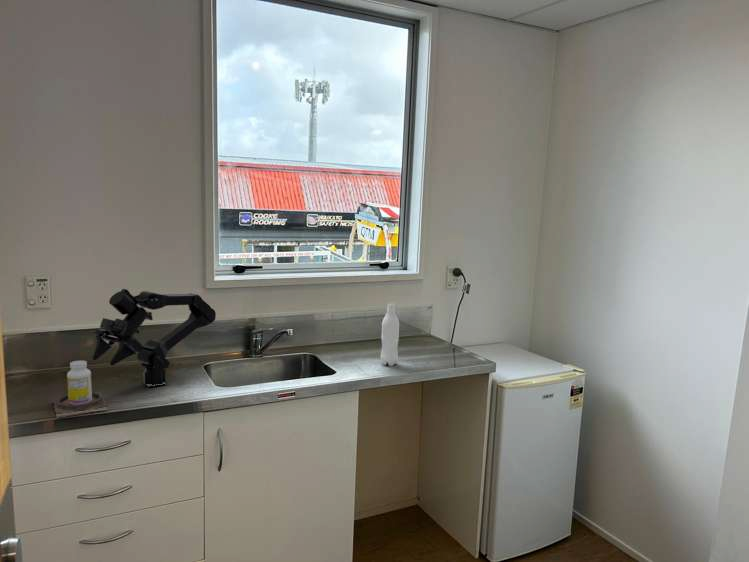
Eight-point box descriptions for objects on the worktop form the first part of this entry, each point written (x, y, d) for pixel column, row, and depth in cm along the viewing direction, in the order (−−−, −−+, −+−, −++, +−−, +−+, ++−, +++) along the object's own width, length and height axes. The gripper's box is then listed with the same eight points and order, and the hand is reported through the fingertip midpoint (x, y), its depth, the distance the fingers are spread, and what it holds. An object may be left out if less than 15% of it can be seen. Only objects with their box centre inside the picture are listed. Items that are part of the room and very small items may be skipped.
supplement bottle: (77, 397, 186) (75, 358, 184) (96, 399, 185) (95, 360, 183) (63, 405, 179) (61, 364, 177) (83, 406, 178) (81, 366, 176)
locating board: (101, 396, 192) (101, 388, 191) (107, 410, 180) (107, 402, 179) (52, 403, 184) (52, 395, 184) (56, 418, 172) (55, 409, 172)
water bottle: (391, 367, 233) (393, 306, 230) (376, 364, 238) (378, 304, 234) (401, 364, 239) (403, 304, 235) (387, 360, 243) (389, 301, 240)
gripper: (98, 304, 194) (67, 343, 186) (134, 312, 184) (102, 353, 176) (120, 324, 202) (91, 362, 194) (155, 332, 192) (126, 372, 184)
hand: (102, 362), depth 187 cm, fingers open, 9 cm apart
